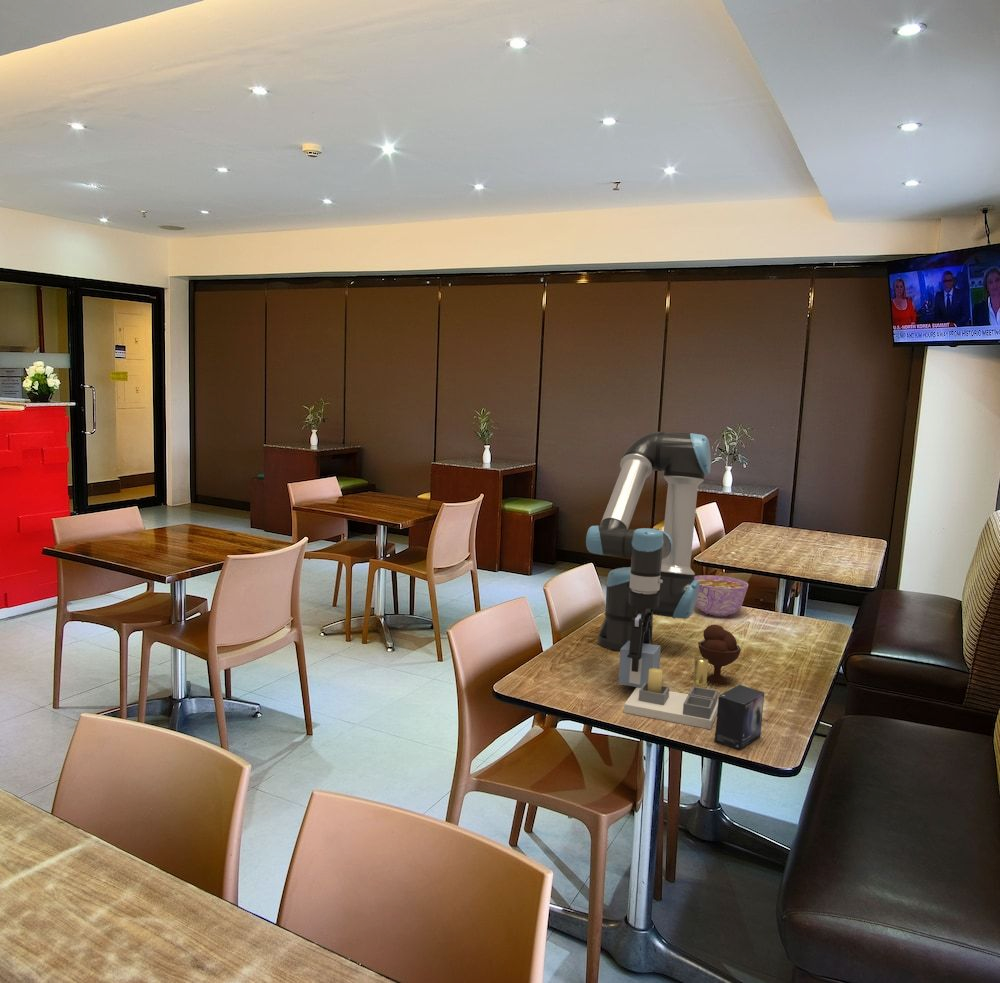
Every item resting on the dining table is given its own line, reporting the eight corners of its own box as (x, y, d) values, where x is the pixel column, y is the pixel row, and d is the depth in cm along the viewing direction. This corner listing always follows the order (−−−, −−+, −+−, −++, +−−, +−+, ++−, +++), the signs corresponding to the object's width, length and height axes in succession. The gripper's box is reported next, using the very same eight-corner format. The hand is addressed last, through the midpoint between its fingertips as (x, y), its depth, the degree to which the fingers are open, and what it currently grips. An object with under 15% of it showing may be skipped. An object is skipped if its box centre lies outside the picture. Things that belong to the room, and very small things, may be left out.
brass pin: (691, 699, 195) (694, 660, 194) (693, 695, 198) (696, 656, 197) (704, 701, 194) (707, 662, 193) (706, 697, 197) (709, 658, 196)
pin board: (623, 712, 185) (625, 675, 184) (637, 693, 198) (639, 658, 197) (710, 729, 177) (713, 690, 176) (719, 708, 190) (721, 672, 189)
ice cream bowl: (716, 690, 202) (720, 633, 200) (687, 676, 212) (690, 621, 210) (746, 684, 207) (751, 629, 205) (717, 671, 217) (720, 618, 215)
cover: (618, 683, 198) (620, 648, 197) (626, 674, 206) (628, 640, 205) (651, 689, 195) (653, 654, 194) (658, 679, 203) (660, 645, 202)
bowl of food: (689, 618, 269) (691, 585, 268) (685, 604, 289) (687, 573, 288) (750, 623, 266) (752, 590, 265) (742, 608, 286) (744, 577, 284)
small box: (741, 751, 166) (745, 703, 165) (713, 741, 171) (716, 695, 170) (762, 737, 174) (766, 691, 173) (734, 728, 179) (738, 683, 177)
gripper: (650, 601, 187) (644, 693, 189) (667, 584, 206) (662, 667, 209) (619, 597, 190) (613, 688, 192) (639, 580, 209) (634, 663, 212)
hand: (638, 677), depth 200 cm, fingers closed on cover, 8 cm apart
